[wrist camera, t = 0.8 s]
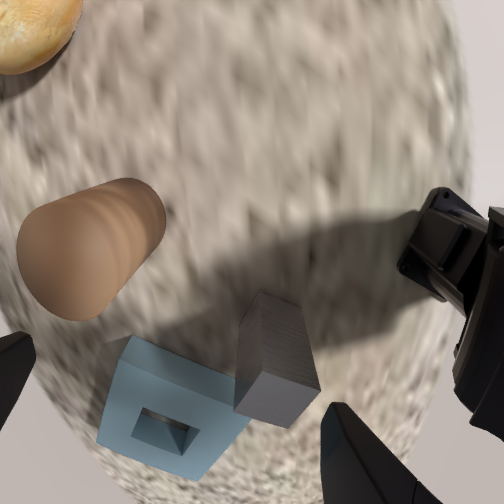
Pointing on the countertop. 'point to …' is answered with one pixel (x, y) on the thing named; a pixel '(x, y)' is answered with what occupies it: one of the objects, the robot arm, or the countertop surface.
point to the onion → (34, 31)
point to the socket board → (169, 411)
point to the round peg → (89, 246)
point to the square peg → (274, 363)
